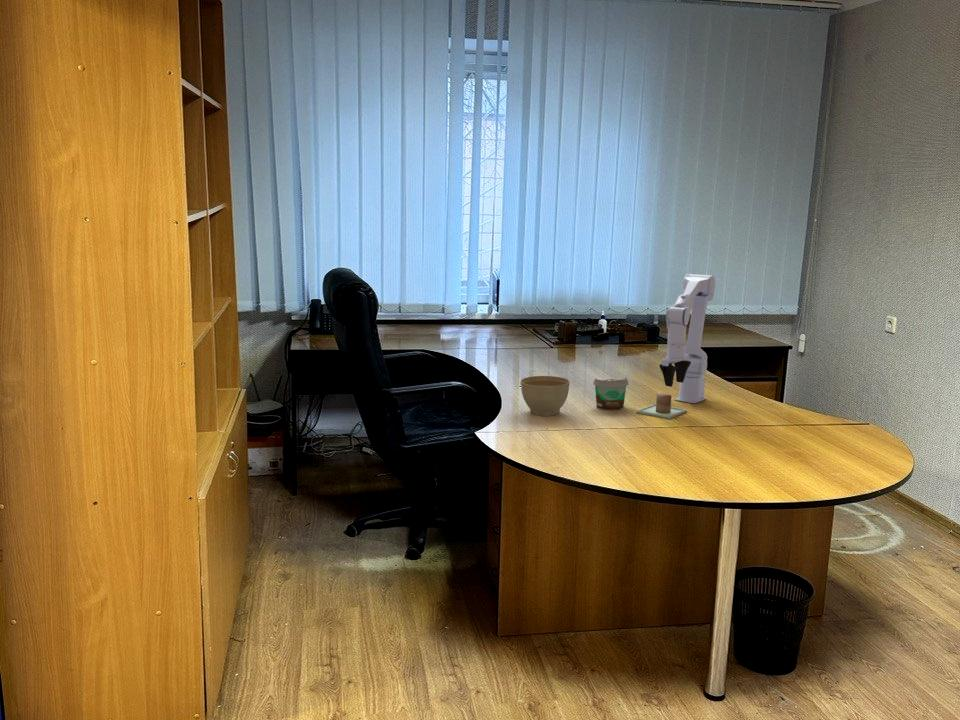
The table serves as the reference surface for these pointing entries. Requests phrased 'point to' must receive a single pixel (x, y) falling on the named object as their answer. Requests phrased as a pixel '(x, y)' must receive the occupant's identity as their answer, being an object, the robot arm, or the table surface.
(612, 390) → the food container
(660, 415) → the coaster
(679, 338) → the robot arm
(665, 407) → the walnut cylinder
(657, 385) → the table surface
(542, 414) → the planter bowl
